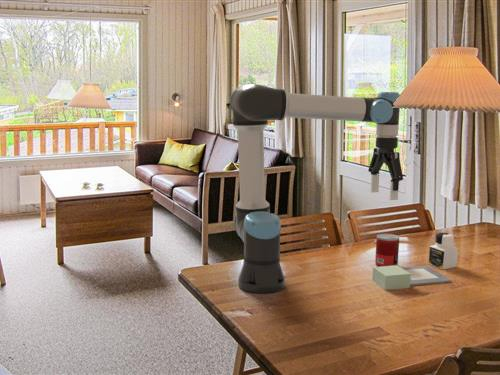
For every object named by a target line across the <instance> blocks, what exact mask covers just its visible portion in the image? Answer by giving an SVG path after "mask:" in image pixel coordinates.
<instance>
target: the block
mask: <svg viewBox="0 0 500 375" xmlns="http://www.w3.org/2000/svg"><path fill="white" fill-rule="evenodd" d="M371 276H372V279H371V280H372V282H373V283H375V284H376V285H378V287H380V288H382V289H383V290H384V291H388V290H390V291H391V290H401V289H410V288H411V286H410V280H411V274H410V273H409V272H407V271H406V270H404V269H402V268H401V266H399V265H394V266H381V267H378V266H373V267H372V275H371Z"/></svg>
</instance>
